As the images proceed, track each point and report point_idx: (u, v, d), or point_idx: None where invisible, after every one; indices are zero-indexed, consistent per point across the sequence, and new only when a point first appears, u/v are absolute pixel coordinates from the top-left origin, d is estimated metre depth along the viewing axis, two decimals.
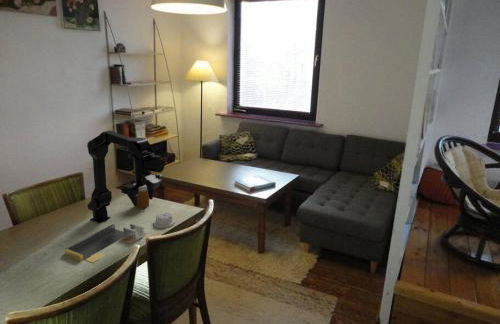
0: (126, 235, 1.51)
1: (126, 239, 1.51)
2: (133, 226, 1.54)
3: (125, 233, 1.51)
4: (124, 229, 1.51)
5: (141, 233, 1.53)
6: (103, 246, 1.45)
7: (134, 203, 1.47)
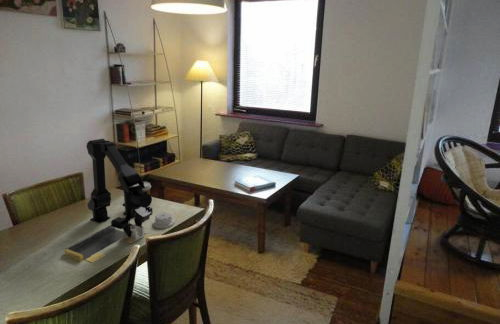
0: (126, 235, 1.51)
1: (126, 239, 1.51)
2: (133, 226, 1.54)
3: (125, 233, 1.51)
4: None
5: (141, 233, 1.53)
6: (103, 246, 1.45)
7: (128, 234, 1.49)
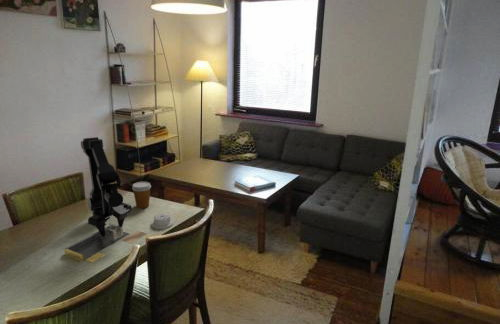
0: None
1: (126, 239, 1.51)
2: (112, 226, 1.53)
3: None
4: None
5: (120, 233, 1.52)
6: (103, 246, 1.45)
7: (102, 233, 1.47)
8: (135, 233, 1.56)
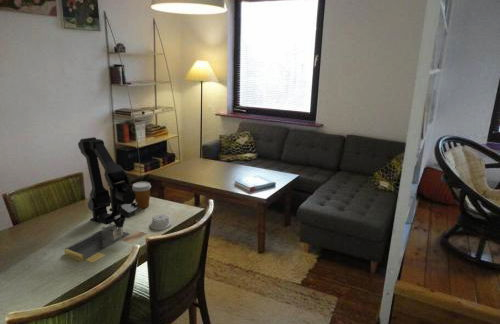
0: (104, 235, 1.51)
1: (126, 239, 1.51)
2: (112, 226, 1.53)
3: (103, 233, 1.51)
4: (102, 229, 1.50)
5: (119, 233, 1.52)
6: (103, 246, 1.45)
7: None
8: (135, 233, 1.56)
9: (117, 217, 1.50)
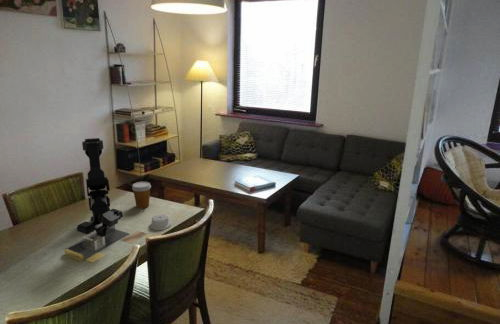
0: (85, 245, 1.43)
1: (126, 239, 1.51)
2: (93, 235, 1.45)
3: (84, 243, 1.43)
4: (83, 239, 1.42)
5: (102, 243, 1.44)
6: None
7: None
8: (135, 233, 1.56)
9: (99, 226, 1.42)
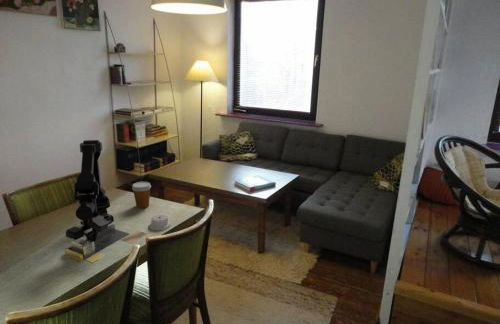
0: (74, 250, 1.38)
1: (126, 239, 1.51)
2: (83, 240, 1.41)
3: (73, 248, 1.38)
4: (72, 244, 1.38)
5: (91, 248, 1.40)
6: (103, 246, 1.45)
7: None
8: (135, 233, 1.56)
9: (88, 231, 1.38)
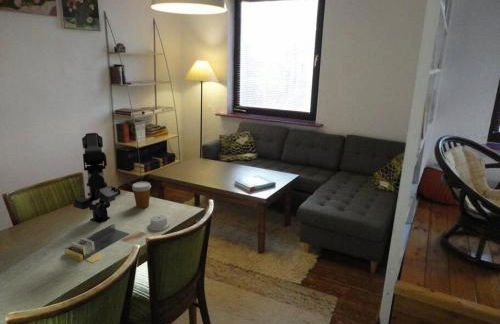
0: (74, 251, 1.38)
1: (126, 239, 1.51)
2: (82, 240, 1.41)
3: (73, 248, 1.38)
4: (72, 244, 1.38)
5: (91, 248, 1.40)
6: (103, 246, 1.45)
7: (97, 213, 1.43)
8: (135, 233, 1.56)
9: (95, 202, 1.39)
